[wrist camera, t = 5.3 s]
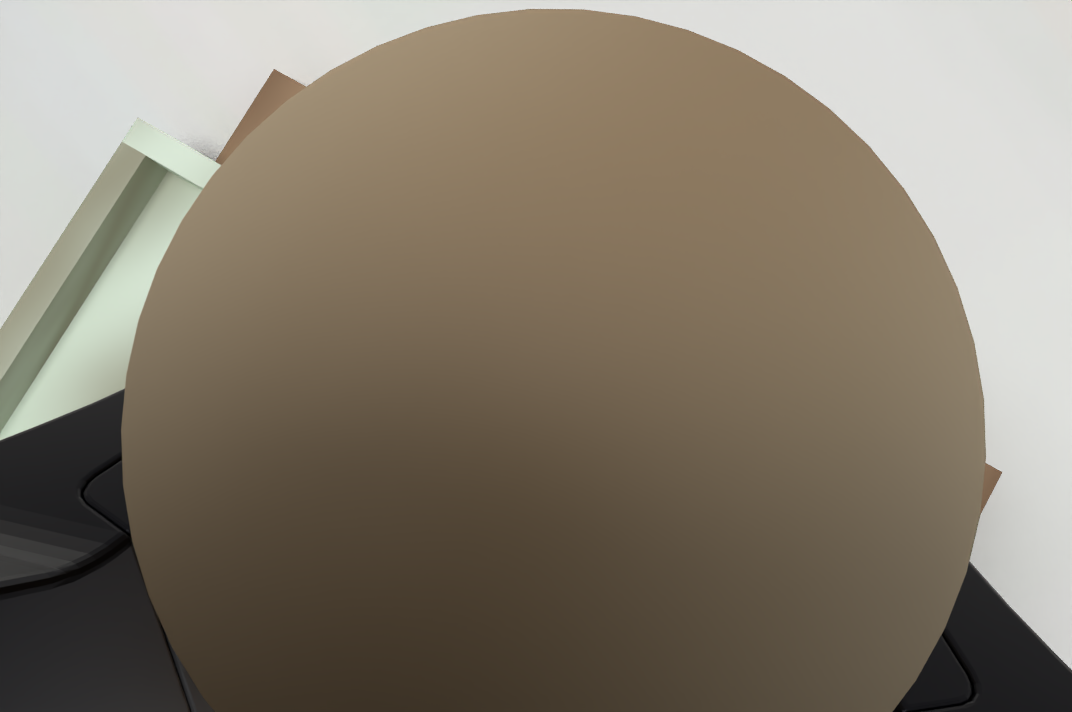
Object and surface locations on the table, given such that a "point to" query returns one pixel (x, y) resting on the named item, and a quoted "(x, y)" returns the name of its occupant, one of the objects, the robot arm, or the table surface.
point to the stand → (118, 274)
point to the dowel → (553, 391)
